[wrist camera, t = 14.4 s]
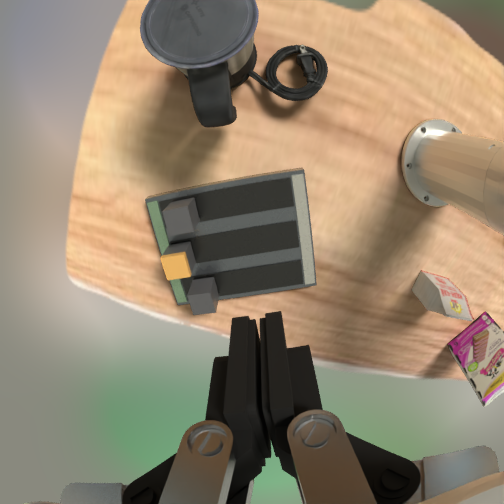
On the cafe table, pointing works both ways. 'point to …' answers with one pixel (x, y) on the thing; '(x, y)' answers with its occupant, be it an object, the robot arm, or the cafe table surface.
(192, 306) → the breaker far
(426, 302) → the grey boxy piece
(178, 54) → the milk frother
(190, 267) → the block
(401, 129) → the cafe table surface
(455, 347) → the candy bar box
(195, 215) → the block
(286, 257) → the panel
